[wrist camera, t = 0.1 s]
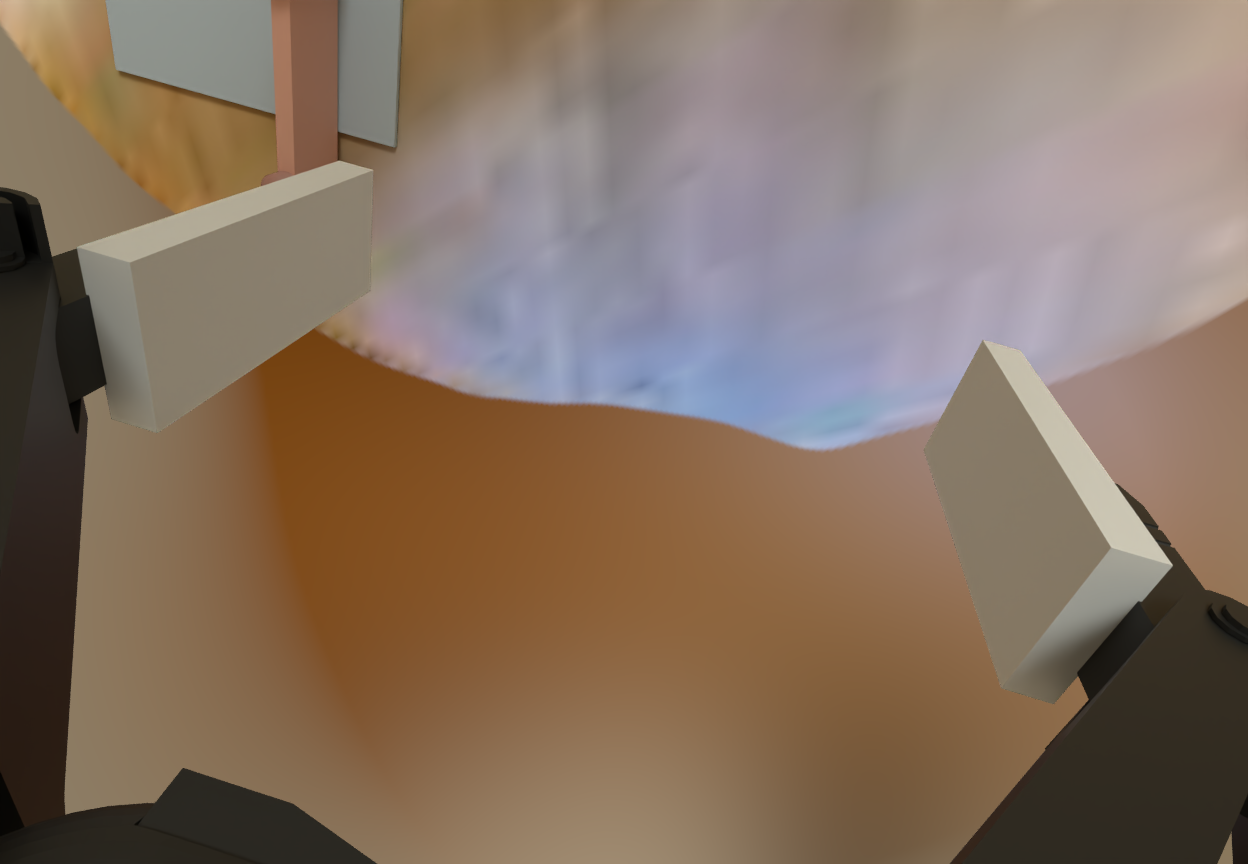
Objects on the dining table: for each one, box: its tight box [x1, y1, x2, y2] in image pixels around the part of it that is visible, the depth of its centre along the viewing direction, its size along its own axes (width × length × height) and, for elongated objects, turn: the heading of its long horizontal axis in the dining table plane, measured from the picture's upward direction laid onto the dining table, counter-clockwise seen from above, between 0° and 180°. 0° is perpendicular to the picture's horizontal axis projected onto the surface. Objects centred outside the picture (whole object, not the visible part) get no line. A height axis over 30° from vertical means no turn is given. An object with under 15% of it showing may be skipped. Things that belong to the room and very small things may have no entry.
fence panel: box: [261, 0, 338, 186], centre depth 39 cm, size 10×2×6 cm, turn 167°
